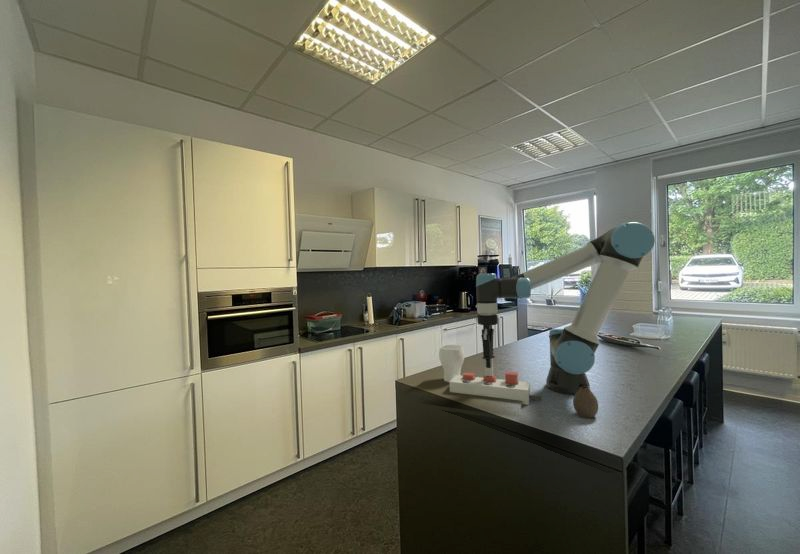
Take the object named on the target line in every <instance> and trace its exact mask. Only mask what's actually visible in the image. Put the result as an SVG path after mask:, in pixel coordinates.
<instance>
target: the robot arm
mask: <svg viewBox="0 0 800 554" xmlns="http://www.w3.org/2000/svg"><path fill="white" fill-rule="evenodd" d="M655 237H656V236H655V235H654V232H653V231H652V229H651V228H650V227H649V226H648V225H646V224H644V223H640V222H636V221H632V222H631V221H630V222H623V223H621V224H618V225H617V226H616V227H613V228H611V229H609V230H608V231H606V232H605V233H603V234H602V235H600V236H598V237H597V238H595V239H592V240H590V241H588V242H587V243H586V245H585V246H582V247H580V248H578V249H576V250H574V251H571V252H569V253H566V254H564V255H562V256H559V257H557V258H554V259H553V260H550V261H547V262H545V263H542V264H541V265H538V266H535V267H533V268H531V269H528V270H526V271H524V272H522V273H520V274H518V275H514V276H512V277H508V278H507V277H505V278H499V277H498V278H497V274H496V273H478V274H477V276H476V281H475V284H476V285H475V290H476V291H475V293H476V294H475V295H476V305H475V308H476V312H477V315H476V317H477V324H478V325H480V326H482V329H481V341H482V342H481V343H482V352H483V357H482V359H483V360H484V372H485V373H484V375H485V376H493V375H494V359H495V357H496V356H495V355H494V332H495V329H494V328H493V326H495V325H496V326H497V325H498V323H499V321H498V319H499V318H498V317H499V316H498V312H499V311H498V299H528V298H530V297H531V293H532V290H535V289H536V288H538V287H541V286H544V285H546V284H549V283H551V282H554V281H556V280H559V279H561V278H564V277H567V276H569V275H571V274H574V273H576V272H579V271H582V270H584V269H586V268H589V267H592V266H593V265H598V266H599V267H598V268H597V270H596V273H595V274H594V276H593V279H592V281H591V283H590V285H589V286H588V288H587V290H586V293H585V294H584V295H585V296H584V298H583V299H582V302H581V304H580V305H579V307H578V309H577V312H576V313H575V315H574V318H573V320H572V322H571V324H570V325H567V326H564V327H563V328H553V329H550V330H549V334H548V338H549V358H550V359H549V360H550V363H549V364H550V367H549V370H548V373H547V376H546V381H545V382H546V383H545V384H546V388H548V389H549V390H552V391H554V392H557V393H561V394H568V395H575V394H576V393H577V392H578V391H579V389H580V387H582V386H586V387H589V389H590V390H591V385H590V381H589V379H588V376H587V374H586V373H587V372H589V371H590V370H592V369H593V367H594V365H595V362H596V356H595V354H596V351H597V350H598V347H599V345H600V341H599V338H598V335H599V333H600V331H601V329H602V327H603V326H604V323H605V321H606V320H607V319H608V318H607V317H608V315H609V313H610V311H611V309H612V307H613V305H614V304H615V302H616V300H617V297H618V295H619V293H620V292H621V290H622V288H623V286H624V284H625V282H626V280H627V277H628V276H629V273H630V272H632V271H634V270H637V269H638V267H639V266H640V264H641V262H642V259H643V258H644V257H645V256H646V255H648V254H649V253H650V252H651V251H652V249H653V248H654V246H655V242H656V241H655Z"/></svg>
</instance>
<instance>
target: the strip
mask: <svg viewBox="0 0 800 554" xmlns="http://www.w3.org/2000/svg"><path fill="white" fill-rule="evenodd" d="M448 383H449V393H457V394H462V395H463V394H464V395H472V396H473V395H474V396H480V397H481V396H482V397H489V398H497V399H505V400H506V399H507V400H513V401H521V404H522V405H530V400H539V401H542V396H540V395H535V394H534V395H533V394H531V389H530V388H531V387H530V385H531V384H530V382H529V381H523V380H522V381H520V380H518V383H517V385H516V384H507V383H506V380H505V379H501V378H496V382H495V383H494V382H485V381H484V377H479V376H475V379H474V380H465V379H463V375H461V374H460V375H455V376H454V377H453V378H452V380H451V381H450V382H448Z"/></svg>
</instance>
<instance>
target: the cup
mask: <svg viewBox="0 0 800 554" xmlns="http://www.w3.org/2000/svg"><path fill="white" fill-rule="evenodd" d="M438 351H439V356H438V357H439V361H440V364H441V366H442V368H443V373H444V374H443V380H444V382H446V383H447V382H448V383H449V382H450V381H451V380H452V378H453V377H454V376H455V375H461V372H462V371H461V369H462V367H463V365H464V361H465V352H464V351H465V350H464V348H463V346H462V345H456V344H446V345H441V346H440V347H439V350H438Z"/></svg>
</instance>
